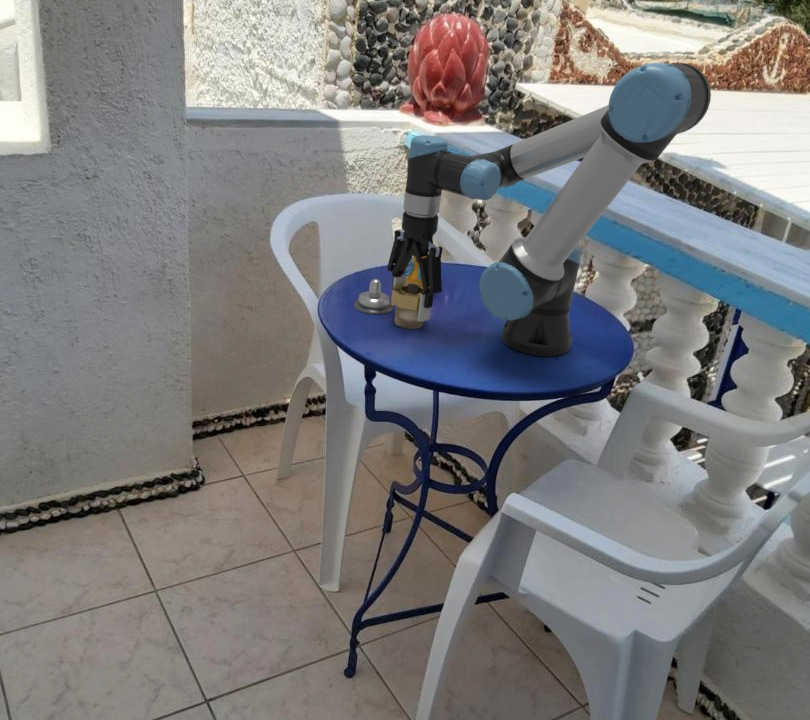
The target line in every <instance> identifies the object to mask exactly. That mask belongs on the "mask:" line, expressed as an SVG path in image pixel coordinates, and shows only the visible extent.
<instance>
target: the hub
mask: <svg viewBox="0 0 810 720" xmlns="http://www.w3.org/2000/svg"><path fill="white" fill-rule="evenodd" d="M381 288H382V283H381V280H379V279H377V278H374V279H372V280H371V281H370V283H369V288H368V289H369V290H367V291H363V292H361V293H359V296H358V299H357V300H355V301H354V303H353V307H354V309H355V310H356V311H358V312H361V313H363V314H368V315H377V316H378V315H380V316H381V315H387V314H389V313H391V312H393V310H394V306H393V305H391V301H390V296H389V295H388V294H386V293H384V292H381V290H382V289H381Z"/></svg>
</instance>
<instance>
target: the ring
mask: <svg viewBox="0 0 810 720" xmlns="http://www.w3.org/2000/svg"><path fill="white" fill-rule="evenodd" d="M408 284H416V283H410V282H406V281H405V283H399V284H395V285H394V287H393V289H392V291H391V300H390V303H393V304H395V307H396V306H398V307H400V308H404V309H410V310H419V303H420V294H421V292H424V291H423V285H422V284H417V285H418V290H417V294H412V293H407V289H408Z"/></svg>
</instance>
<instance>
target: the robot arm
mask: <svg viewBox="0 0 810 720" xmlns="http://www.w3.org/2000/svg"><path fill="white" fill-rule="evenodd" d="M711 98H712V93H711V86H710V83H709V80H708V78H707V77H706V76H705V74H704V73H703V72H702V71H701V70H700V69H699V68H697V67H695V66H694V65H691V64H689V63H684V62H683V63H682V62H673V63H666V62H651V63H646V64H643V65H639V66H637V67H636V68H633V69H631V70H630V71H628V72H627V73H625V74H624V75H623V76H622V77H621V78H620V79H619V80H618V82H616V84H615V86H614V87H613V89H612V91H611V93H610V97H609V100H608V104H607V105H605V106H603V107H601V108H597V109H595V110H593V111H590V112H588V113H586V114H583V115H580V116H578V117H576V118H573V119H571V120H568V121H567V122H564V123H561V124H559V125H556V126H555V127H552V128H549V129H547V130H544V131H542V132H539V133H538V134H535V135H532V136H530V137H527V138H525V139H522V140H520V141H517V142H515V143H513V144H510V145H507V146H505V147H503V148H500V149H497V150H495V151H490V152H486V153H481V154H475V155H474V154H473V155H465V154H464V155H462V154H458V153H454V152H451V151H448V149H449V148H448V141H447V139H445V138H443V137H439V136H435V135H423V134H422V135H415V136H414V137H413V138H412V139H411V141H410V147H409V153H408V157H407V173H406V185H405V190H404V198H403V207H402V209H403V210H404V212H403V213H402V219H401V229H396V230H394V233H393V234H394V236H393V237H394V238H393V239H394V240H393V245H392V248H391V252H390V255H389V259H388V263H387V267H386V268H387V271H388V272H391V276H392V285H391V288H392V289H393V287H394V285H395V284H399V283H405V282H406V277H407V276H402V275H405V274H404V273H406V271H407V270H406V268H407V267H409V264H410V263H409V262H410V260H411V258H412V257H413V255H414V256H415V257H416V262H417V263H419V268H420V274H421V280H422V285H423V291H424V292H421V294H420V303H419V311H418V320H417V321H419V322H421V321H423V322H424V321H429V320H430V317H431V311H432V310H431V309H432V308H433V303H434V295H435V294H441V293H442V291H443V289H442V287H443V285H442V273H441V270H442V254H443V246H437V245H435V244H434V239H433V237H434V235H435V234H436V233H437V231H438V225H439V218H440V217H439V215H438V214H439V213H440V206H441V200H442V191H445V192H448V193H453V194H455V195H460V196H464V197H466V198H468V199H471V200H479V201H488V200H491V199H492V197H493V196H494V195H495V194H496V193H497V191H498V189H501V188H508V187H510V186H514V185H516V184H517V183H519V182H521V181H524V180H527V179H528V178H532V177H535V176H537V175H539V174H543V173H546V172H549V171H551V170H554V169H556V168H559V167H561V166H565V165H567V164H570V163H573V162H576V161H578V160H581V159H582V160H581V162H580V163H579V164H578V165H577V167H576V168H575V169H574V171H573V172H572V173H571V175H570V177H569V178H568V179H567V181H566V182H565V184H564V185H563V186H562V188H561V189H560V190H559V191H558V193H557V195H556V196H555V197H554V199H553V200H552V201H551V203H550V204H549V205H548V207H547V208H546V209H545V211H544V213H543V214H542V215H541V216H540V218H539V220H537V222H536V223H535V225H533V227H532V229H531V230H530V232H529V233H528V234H527V236H524V237H523V236H522V237H517V238H516V239H514V241H513V242H512V243H511V244H510V246H508V247H509V248H508V249H507V250H506V252H505V253H504V254H503V255H502V257H501V258H500V259H499V261H497V262H493V263H492V264H490V265H489V266H488V267H486V269H484V271H483V272H482V274H481V276H480V280H479V283H478V284H479V286H478V287H479V289H478V290H479V292H480V297H481V301H482V302H483V304H484V306H485V308H486V309H487V310H488V311H489V312H490V313H491V314H492V315H494V316H495V317H496V318H499V319H501V320H504V321H505V322H504V324H503V326H502V330H501V334H500V335H501V336H500V337H501V340H502V342H503V343H504V344H505V345H506V346H507V347H509V348H510V349H513V350H515V351H518V352H520V353H522V354H526V355H531V356H536V357H537V356H538V357H557V356H562V355H565V354H566V353H568V352H569V351H570V349H571V345H572V334H571V326H570V325H571V324H570V317H569V316H570V315H569V314H570V309H571V305H572V300H573V296H574V291H575V288H576V287H575V286H576V281H577V276H578V272H579V267H580V265H581V249H580V248H579V247H578V245H579V244H580V243H581V241H582V240H583V239H584V237H585V236H586V235H587V234H588V232H589V231H590V230H591V229H592V227H593V226H594V225H595V224H596V222H597V221H598V220H599V219H600V217H601V216H602V215H603V213H604V212H605V211H606V209H607V208H608V207H609V206H610V204H612V202H613V201H614V200H615V198H616V197H617V196H618V194H620V192H621V190H622V189H624V187H625V185H626V184H627V183H628V182H629V180H630V179H631V178H632V176H634V174H635V173H636V172H637V171H638V169H639V168H640V166H642V165H643V164H648V163H655V162H656V161H657V159H658V158H659V157H660V155H661V154H662V153H663V152H664V151H665V149H667V148H668V146H669V145H670V144H671V142H672V141H673V140H674V138H676V136H677V135H679V134H682V133H685V132H688V131H689V130H691V129H693V128H694V127H696V126H697V125H698V124H699V123H700V122H701V121H702V120H703V118H704V117H705V115H706V114H707V112H708V110H709V107H710V104H711V100H712V99H711ZM425 256H426V258H421V257H425ZM428 287H429V288H428ZM390 303H391V302H390ZM391 305H393V307H394V306H395V307H396V305H395V304H393V303H391Z"/></svg>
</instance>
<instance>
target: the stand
mask: <svg viewBox="0 0 810 720" xmlns="http://www.w3.org/2000/svg"><path fill="white" fill-rule="evenodd" d="M417 290H418V285H417V284H408V289H407V293H412V294H417ZM418 311H419V310H410V309H404V308H400V307H398V306H396V305H395V313H394V324H395V325H396V326H398V327H399V328H403V329H407V330H417V329H421V328H422V327H423V325H424V321H421V322H419V321H417V320H418Z"/></svg>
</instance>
